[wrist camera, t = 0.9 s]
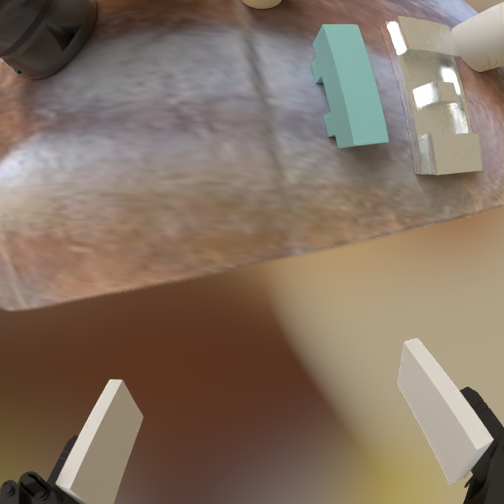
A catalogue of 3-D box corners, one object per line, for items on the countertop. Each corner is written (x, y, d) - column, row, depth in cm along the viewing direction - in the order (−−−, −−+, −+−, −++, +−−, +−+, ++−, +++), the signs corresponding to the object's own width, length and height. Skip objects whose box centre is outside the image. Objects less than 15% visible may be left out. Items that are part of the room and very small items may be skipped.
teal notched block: (307, 53, 27) (322, 24, 19) (335, 52, 26) (357, 24, 19) (330, 149, 30) (354, 145, 22) (358, 146, 30) (389, 142, 22)
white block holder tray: (379, 26, 25) (391, 14, 21) (437, 34, 24) (451, 26, 20) (414, 173, 30) (432, 175, 27) (468, 168, 30) (486, 170, 26)
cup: (470, 76, 26) (525, 63, 14) (442, 29, 24) (490, 3, 12) (494, 66, 24) (543, 54, 13) (468, 22, 23) (513, 1, 11)
